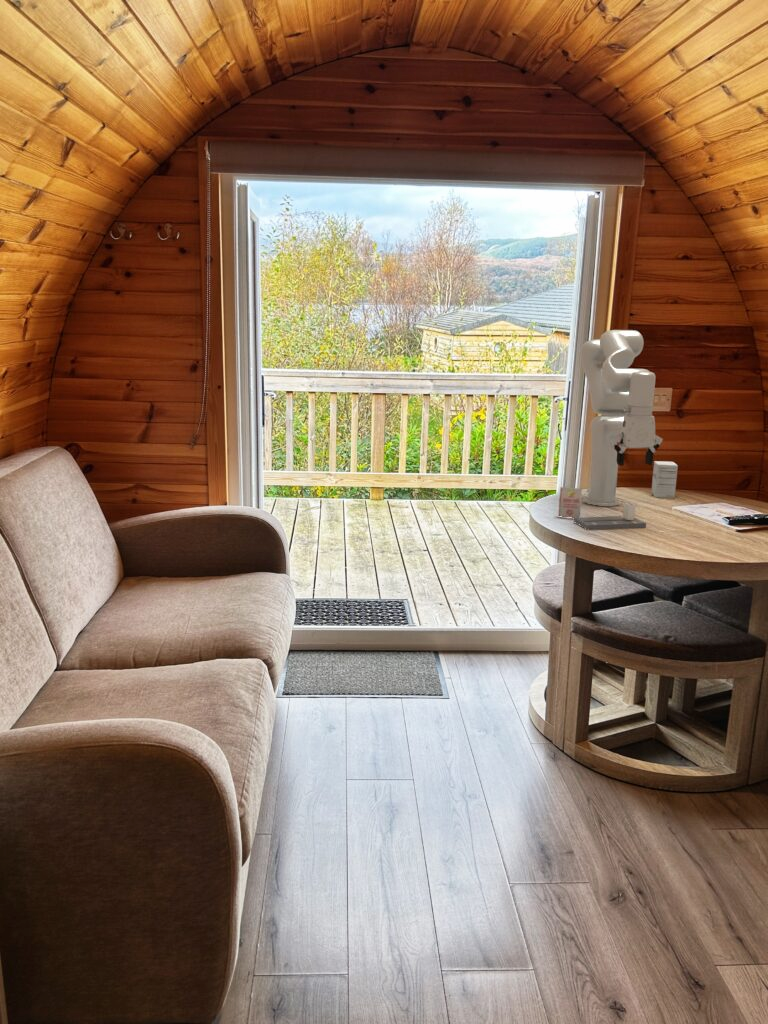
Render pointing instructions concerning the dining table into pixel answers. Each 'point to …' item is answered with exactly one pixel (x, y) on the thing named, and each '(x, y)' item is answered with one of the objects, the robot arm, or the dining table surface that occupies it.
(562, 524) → the dining table surface
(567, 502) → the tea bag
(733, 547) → the dining table surface
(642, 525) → the fader board
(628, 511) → the fader knob
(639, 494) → the dining table surface
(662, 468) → the supplement box
